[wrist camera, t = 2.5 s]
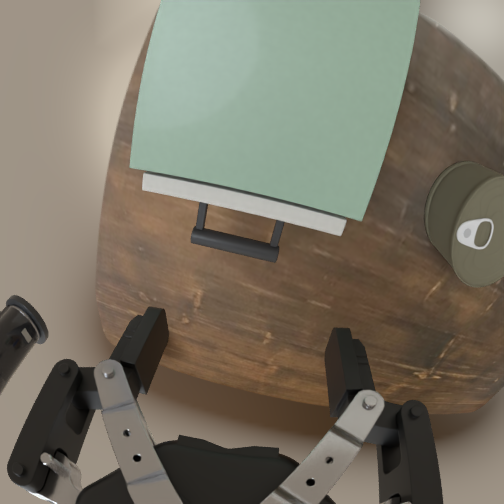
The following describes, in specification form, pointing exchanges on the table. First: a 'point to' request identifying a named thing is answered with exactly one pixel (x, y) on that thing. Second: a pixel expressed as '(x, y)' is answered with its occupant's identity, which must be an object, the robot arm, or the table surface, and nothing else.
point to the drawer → (244, 203)
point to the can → (468, 221)
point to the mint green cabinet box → (275, 95)
